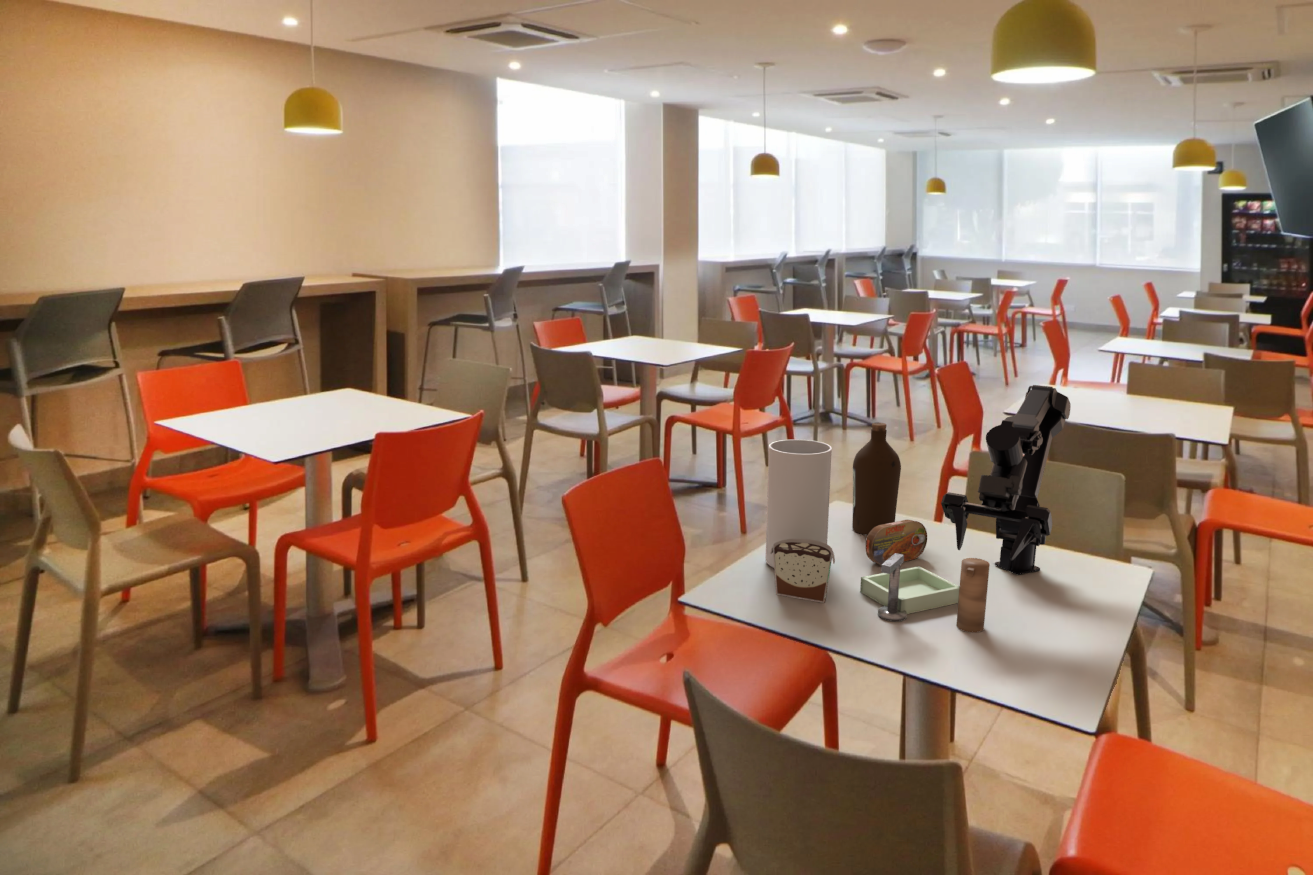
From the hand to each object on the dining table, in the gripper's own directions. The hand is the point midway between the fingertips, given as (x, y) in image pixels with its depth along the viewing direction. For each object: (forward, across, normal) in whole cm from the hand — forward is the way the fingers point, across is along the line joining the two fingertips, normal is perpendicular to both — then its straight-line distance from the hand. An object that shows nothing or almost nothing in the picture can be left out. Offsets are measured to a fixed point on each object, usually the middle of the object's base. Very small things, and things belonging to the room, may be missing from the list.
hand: (984, 554), depth 169 cm
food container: (+14, -31, +3) cm, 34 cm away
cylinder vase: (+4, -39, +12) cm, 41 cm away
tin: (-5, -22, +22) cm, 32 cm away
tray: (+7, -13, +9) cm, 18 cm away
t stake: (+15, -13, +1) cm, 20 cm away
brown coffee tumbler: (+12, 0, +4) cm, 13 cm away
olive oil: (-17, -33, +33) cm, 50 cm away
